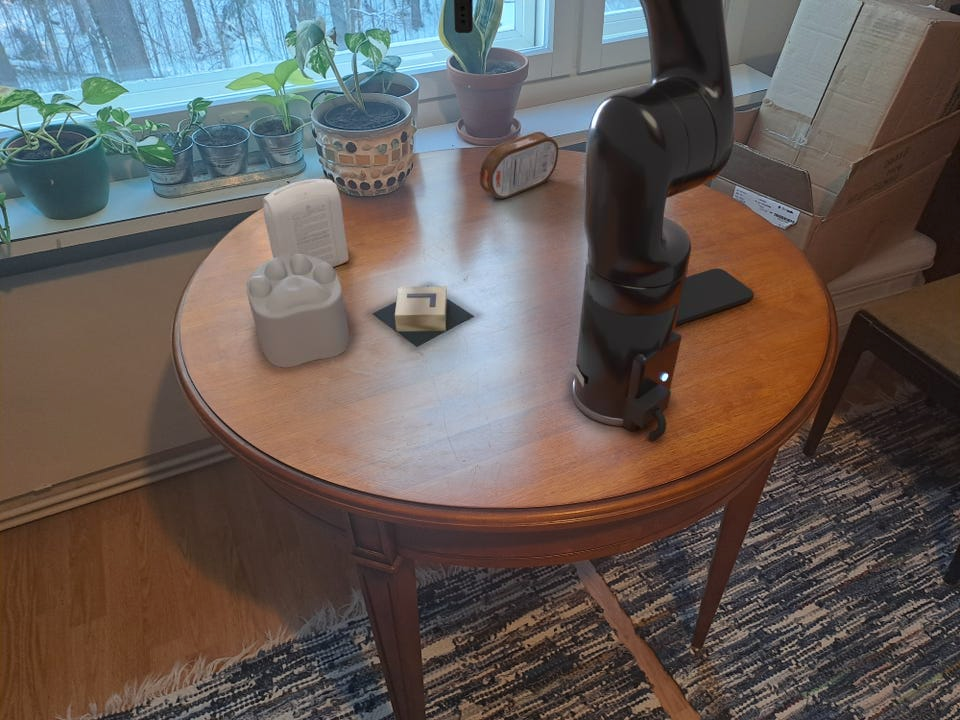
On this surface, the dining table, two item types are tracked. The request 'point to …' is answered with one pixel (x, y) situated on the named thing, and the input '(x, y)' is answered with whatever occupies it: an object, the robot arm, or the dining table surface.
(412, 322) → the tile
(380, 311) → the mat
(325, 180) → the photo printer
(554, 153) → the tin
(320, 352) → the lumpy-topped squat cylinder
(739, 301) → the phone
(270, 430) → the dining table surface
